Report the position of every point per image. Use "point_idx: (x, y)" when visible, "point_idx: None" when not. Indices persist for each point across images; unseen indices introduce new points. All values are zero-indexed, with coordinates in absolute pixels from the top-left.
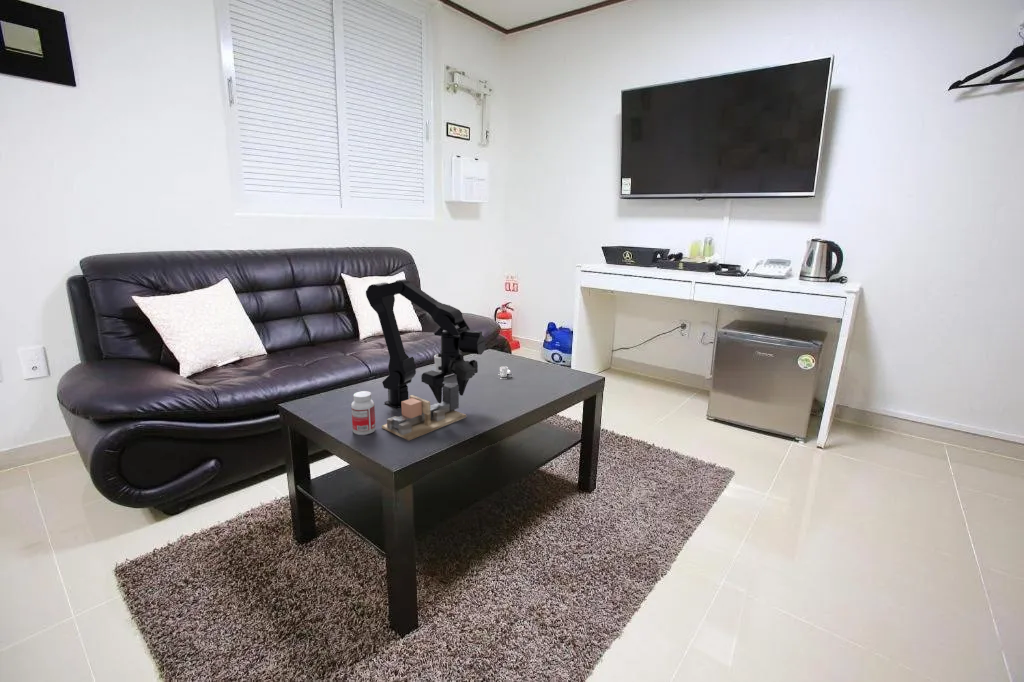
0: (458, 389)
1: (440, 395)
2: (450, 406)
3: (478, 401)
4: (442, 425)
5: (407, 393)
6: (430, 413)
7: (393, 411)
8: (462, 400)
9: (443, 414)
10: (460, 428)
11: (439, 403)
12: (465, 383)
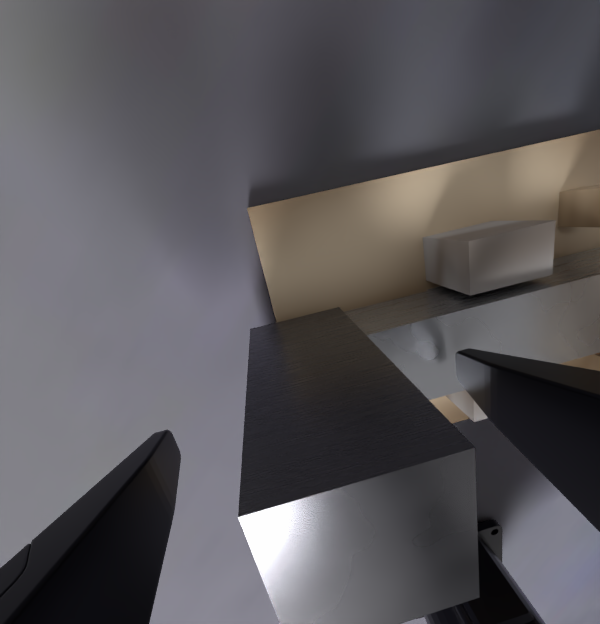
0: (247, 446)
1: (570, 373)
2: (350, 319)
3: (4, 427)
4: (488, 155)
5: (480, 614)
6: (561, 271)
7: (522, 493)
8: None
9: (458, 236)
10: (404, 34)
11: (433, 379)
12: (18, 584)
